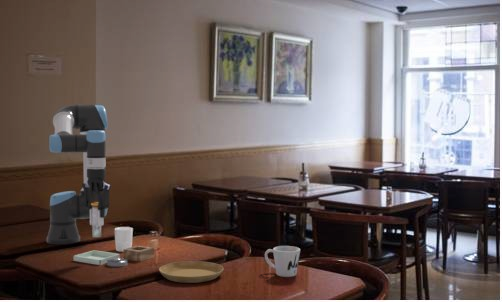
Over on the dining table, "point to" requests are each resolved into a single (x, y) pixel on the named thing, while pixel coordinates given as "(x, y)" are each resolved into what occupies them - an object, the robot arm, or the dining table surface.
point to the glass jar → (95, 220)
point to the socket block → (138, 253)
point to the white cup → (123, 238)
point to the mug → (284, 260)
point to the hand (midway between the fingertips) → (96, 224)
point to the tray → (95, 257)
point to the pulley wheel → (117, 262)
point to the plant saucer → (191, 271)
